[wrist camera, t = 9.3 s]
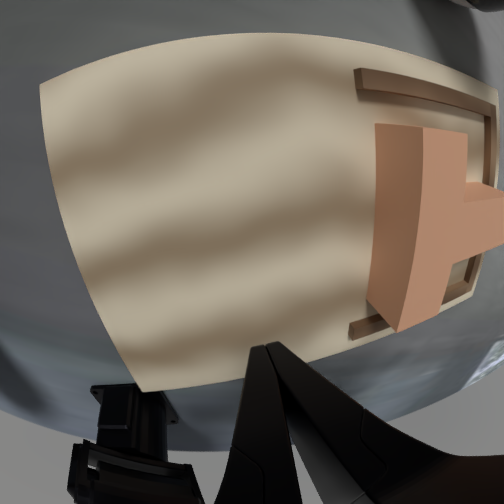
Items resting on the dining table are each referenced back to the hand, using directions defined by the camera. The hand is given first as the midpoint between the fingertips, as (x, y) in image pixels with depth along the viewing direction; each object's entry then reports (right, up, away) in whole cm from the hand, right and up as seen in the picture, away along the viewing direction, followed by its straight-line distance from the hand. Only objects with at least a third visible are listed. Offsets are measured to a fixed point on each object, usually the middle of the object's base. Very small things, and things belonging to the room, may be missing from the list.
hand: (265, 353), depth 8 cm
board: (+6, +5, +9) cm, 12 cm away
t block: (+13, +6, +9) cm, 17 cm away
